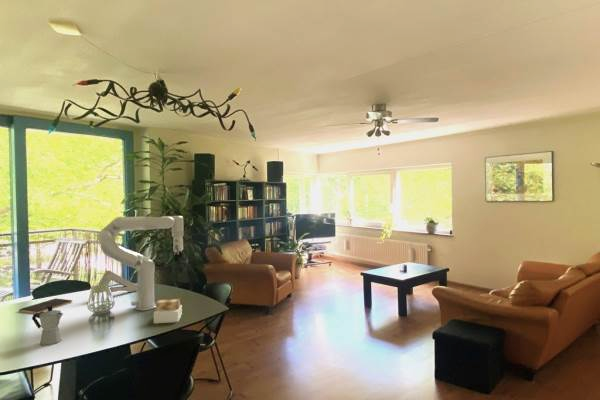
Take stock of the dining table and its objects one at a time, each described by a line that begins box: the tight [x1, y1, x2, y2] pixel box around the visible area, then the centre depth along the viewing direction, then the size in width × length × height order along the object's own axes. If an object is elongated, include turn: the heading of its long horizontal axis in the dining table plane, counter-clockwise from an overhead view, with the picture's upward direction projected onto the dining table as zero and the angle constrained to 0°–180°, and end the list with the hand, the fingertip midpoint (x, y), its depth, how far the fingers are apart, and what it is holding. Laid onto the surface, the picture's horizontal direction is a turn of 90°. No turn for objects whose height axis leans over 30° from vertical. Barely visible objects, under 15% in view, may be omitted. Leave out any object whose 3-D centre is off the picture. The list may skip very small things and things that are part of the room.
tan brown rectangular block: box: [155, 298, 181, 311], centre depth 202 cm, size 12×5×8 cm, turn 98°
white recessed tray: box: [153, 304, 183, 324], centre depth 202 cm, size 13×12×6 cm
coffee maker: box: [31, 305, 64, 347], centre depth 171 cm, size 15×9×18 cm, turn 92°
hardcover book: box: [18, 298, 73, 315], centre depth 226 cm, size 16×23×2 cm
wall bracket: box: [96, 270, 138, 293], centre depth 250 cm, size 22×4×30 cm
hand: (178, 259), depth 235 cm, fingers open, 9 cm apart
